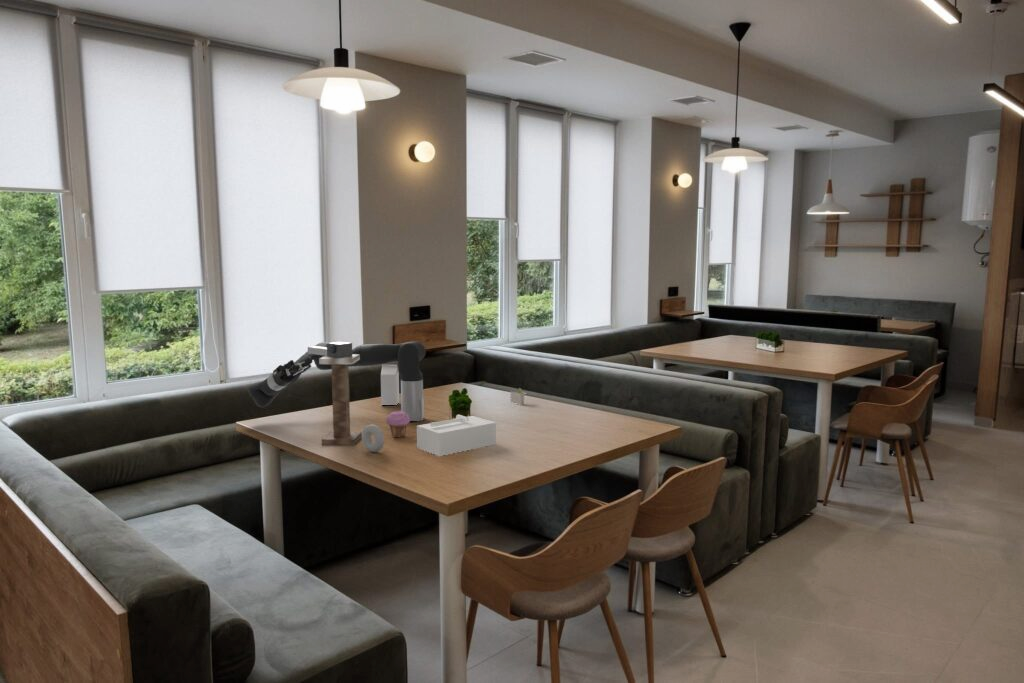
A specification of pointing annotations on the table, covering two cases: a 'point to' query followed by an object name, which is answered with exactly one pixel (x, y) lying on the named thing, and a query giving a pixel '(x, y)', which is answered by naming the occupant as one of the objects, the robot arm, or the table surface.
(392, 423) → the cupcake
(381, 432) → the donut
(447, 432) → the tissue box
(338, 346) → the grey block with knob
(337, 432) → the stand
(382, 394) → the milk carton
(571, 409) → the table surface
